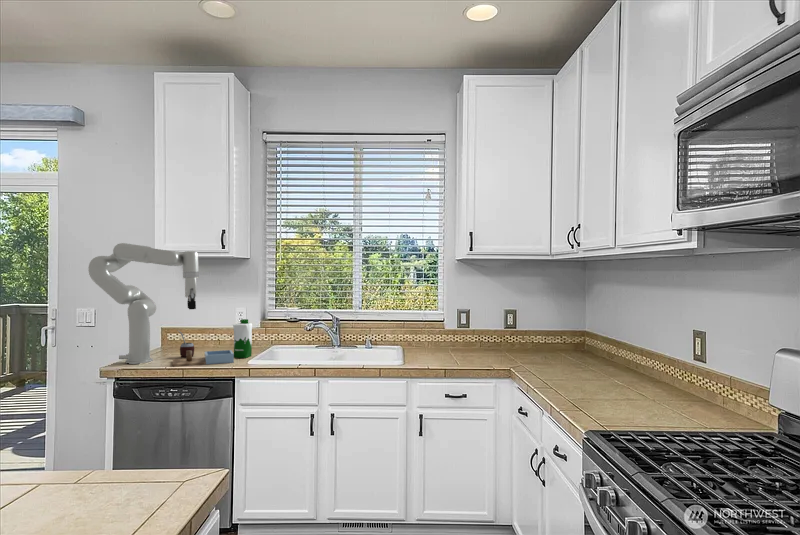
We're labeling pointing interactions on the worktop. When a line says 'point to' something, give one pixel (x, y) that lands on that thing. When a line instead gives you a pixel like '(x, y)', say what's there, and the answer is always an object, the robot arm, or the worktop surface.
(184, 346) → the mate gourd
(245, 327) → the milk carton
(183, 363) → the lid
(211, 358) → the dish
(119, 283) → the robot arm
